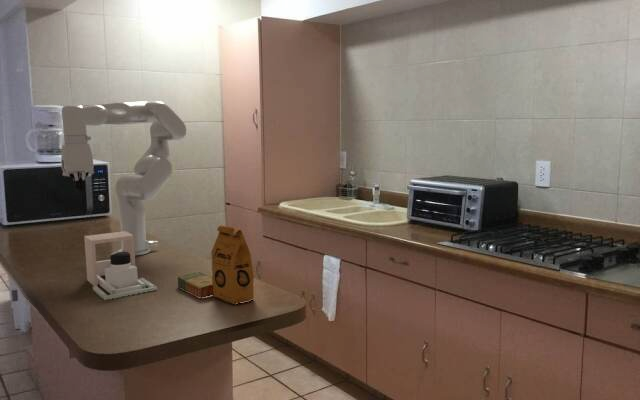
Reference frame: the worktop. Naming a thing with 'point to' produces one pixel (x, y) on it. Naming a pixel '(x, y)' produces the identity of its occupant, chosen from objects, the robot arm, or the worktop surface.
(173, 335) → the worktop surface
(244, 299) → the coffee package
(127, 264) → the medicine bottle
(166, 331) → the worktop surface
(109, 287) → the rack
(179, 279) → the carton
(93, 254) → the cubby
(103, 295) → the frame
